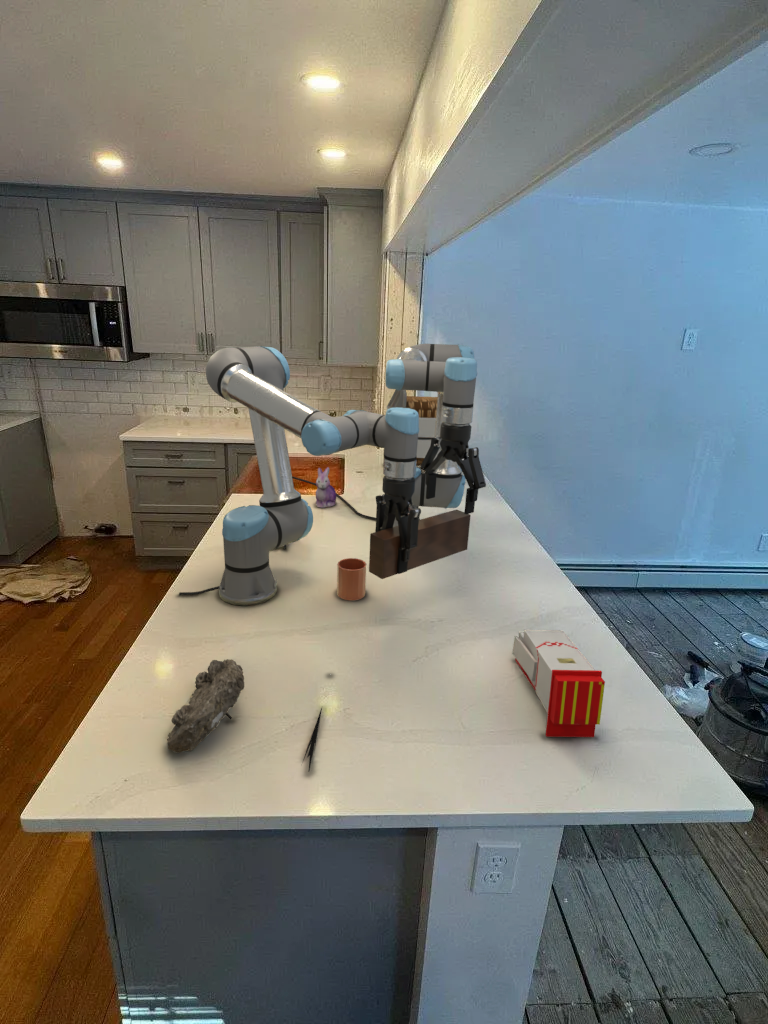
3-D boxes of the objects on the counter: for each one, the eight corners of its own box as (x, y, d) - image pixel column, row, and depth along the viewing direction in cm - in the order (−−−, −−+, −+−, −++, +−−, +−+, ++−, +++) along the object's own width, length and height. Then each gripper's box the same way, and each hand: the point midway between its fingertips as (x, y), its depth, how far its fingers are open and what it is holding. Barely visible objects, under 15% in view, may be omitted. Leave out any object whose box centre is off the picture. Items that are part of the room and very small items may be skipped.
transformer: (382, 463, 289) (386, 382, 275) (445, 464, 293) (451, 384, 279) (390, 482, 257) (394, 392, 243) (460, 483, 261) (468, 394, 247)
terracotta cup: (331, 592, 157) (331, 562, 154) (353, 584, 162) (354, 555, 159) (348, 603, 152) (349, 573, 149) (371, 595, 157) (372, 565, 154)
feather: (331, 679, 122) (336, 673, 122) (307, 777, 96) (313, 769, 95) (324, 675, 122) (329, 669, 121) (298, 772, 95) (304, 764, 95)
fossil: (192, 660, 117) (244, 628, 112) (224, 691, 120) (276, 661, 115) (142, 746, 98) (202, 712, 93) (182, 779, 101) (242, 748, 96)
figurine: (319, 509, 219) (319, 472, 214) (309, 501, 228) (309, 465, 223) (341, 506, 224) (342, 470, 218) (331, 499, 232) (332, 463, 227)
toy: (559, 614, 131) (614, 677, 102) (553, 667, 134) (605, 744, 105) (507, 613, 131) (547, 676, 102) (503, 666, 134) (541, 743, 104)
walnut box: (382, 579, 133) (384, 540, 130) (368, 571, 137) (370, 533, 133) (467, 549, 152) (470, 514, 148) (453, 543, 155) (456, 509, 152)
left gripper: (362, 469, 135) (359, 558, 142) (414, 489, 122) (408, 586, 130) (385, 465, 139) (381, 551, 147) (438, 483, 127) (431, 577, 134)
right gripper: (410, 415, 145) (405, 494, 152) (486, 435, 127) (476, 522, 135) (430, 413, 149) (425, 489, 157) (506, 431, 132) (496, 516, 139)
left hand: (394, 567), depth 138 cm, fingers closed on walnut box, 5 cm apart
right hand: (449, 505), depth 146 cm, fingers open, 13 cm apart
